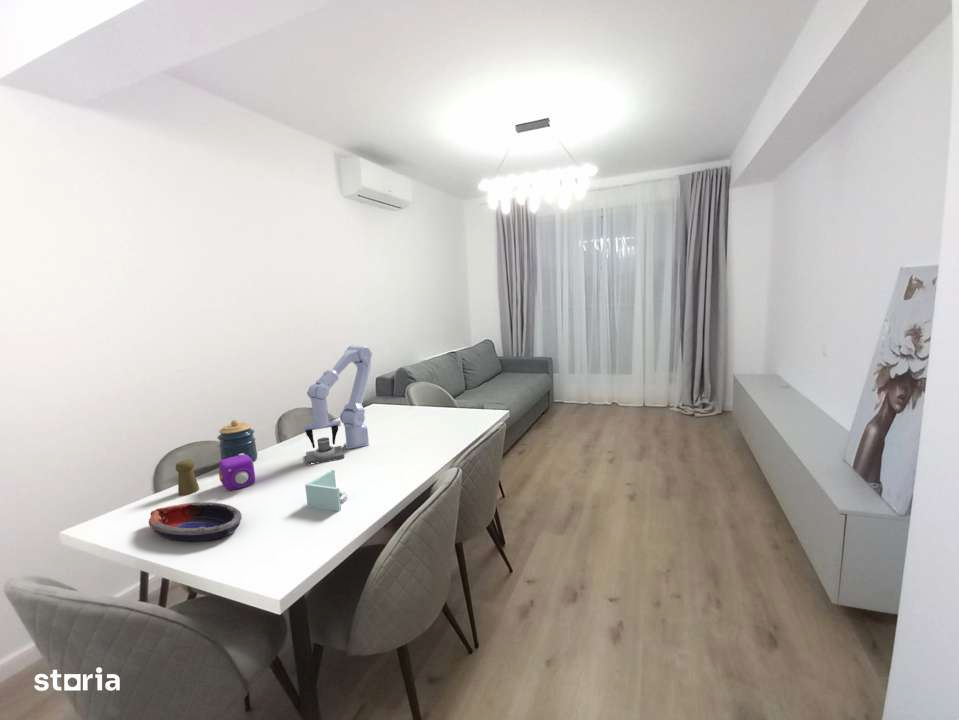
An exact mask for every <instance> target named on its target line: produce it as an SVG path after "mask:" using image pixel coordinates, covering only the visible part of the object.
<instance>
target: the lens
mask: <svg viewBox="0 0 959 720" xmlns="http://www.w3.org/2000/svg"><path fill="white" fill-rule="evenodd" d="M316 442H317V447H318V448H317V449H318V450H319V452H327V451H330V445H331V444H330V438H329V437H320V438H318V439H317V441H316Z"/></svg>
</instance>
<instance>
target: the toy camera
mask: <svg viewBox="0 0 959 720" xmlns="http://www.w3.org/2000/svg"><path fill="white" fill-rule="evenodd" d="M255 474H256V473H255V466H254V462H253V461H252V459H251V458H250V457H249V456H248V455H246V454H244V453H241V454H239V455H238V456H234V457H230V458H226V459H223V460H221V459H220V461H219V462H218V475H219V476H218V477H219V482H221V484H222V486H223V487H224V489H225V490H226V491H235V490H237V489H241V488H243V487H244V488H245V487H247V486H250V485H252V484H254V483H255V482H256V475H255Z"/></svg>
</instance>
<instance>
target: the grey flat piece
mask: <svg viewBox="0 0 959 720" xmlns="http://www.w3.org/2000/svg"><path fill="white" fill-rule="evenodd" d="M305 457H306V458H305V459H306V465H307V464H311V463H316V464H318V463H317V462H321V463H324V462H323V461H327V462H330V461H329V460H332V461H335V460H334V459H337V460H341V459H340V458H342V459H344V458H345V453H344V451H343V447H342V445H337V446H330V451H327V452H319V450H318V448H316V449H314V450H309V451H306V452H305ZM311 465H312V464H311Z"/></svg>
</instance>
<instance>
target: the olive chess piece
mask: <svg viewBox="0 0 959 720" xmlns="http://www.w3.org/2000/svg"><path fill="white" fill-rule="evenodd" d="M194 467H195V462H194V461H193V460H191V459H184V460H181V461H178V462H177V463H176V465H175V471H176V472H177V474H178V477H177V478H178V480H177V481H178V483H177V484H178V485H177V486H178V487H177V488H178V490H177V491H178V492H177V493H178V496H180V497H181V496H188V495H189V496H190V495H192V494H195V493H197V492H198V491H199V490H200V486H199V484H198V480H197V477H196V474H195V471H194Z"/></svg>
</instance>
